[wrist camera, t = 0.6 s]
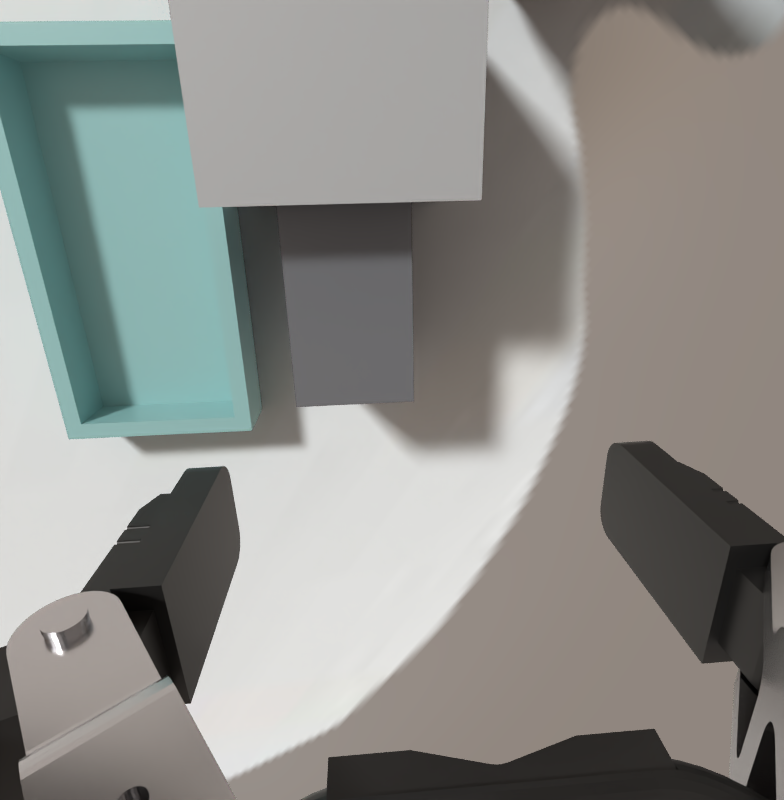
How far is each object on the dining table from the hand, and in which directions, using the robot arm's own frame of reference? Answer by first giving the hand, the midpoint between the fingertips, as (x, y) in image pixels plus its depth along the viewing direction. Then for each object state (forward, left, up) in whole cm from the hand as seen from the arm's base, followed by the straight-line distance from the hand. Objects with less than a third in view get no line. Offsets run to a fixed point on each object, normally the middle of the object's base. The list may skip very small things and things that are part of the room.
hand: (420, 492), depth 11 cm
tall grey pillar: (-4, -2, -19) cm, 20 cm away
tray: (-4, -12, -19) cm, 23 cm away
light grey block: (-10, -2, -19) cm, 21 cm away
